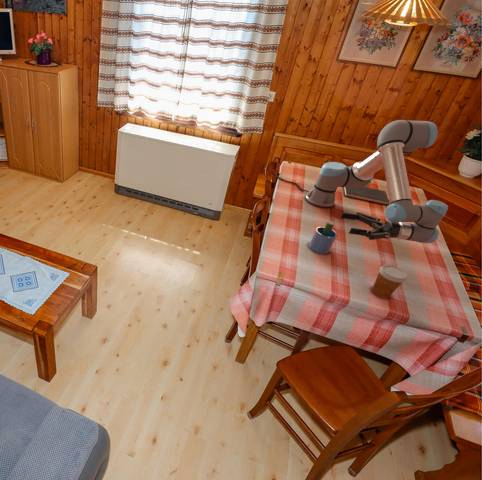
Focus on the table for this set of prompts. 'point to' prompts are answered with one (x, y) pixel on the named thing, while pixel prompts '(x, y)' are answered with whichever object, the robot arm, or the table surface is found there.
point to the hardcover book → (367, 194)
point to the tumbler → (322, 241)
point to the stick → (328, 228)
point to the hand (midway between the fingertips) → (345, 222)
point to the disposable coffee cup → (388, 280)
